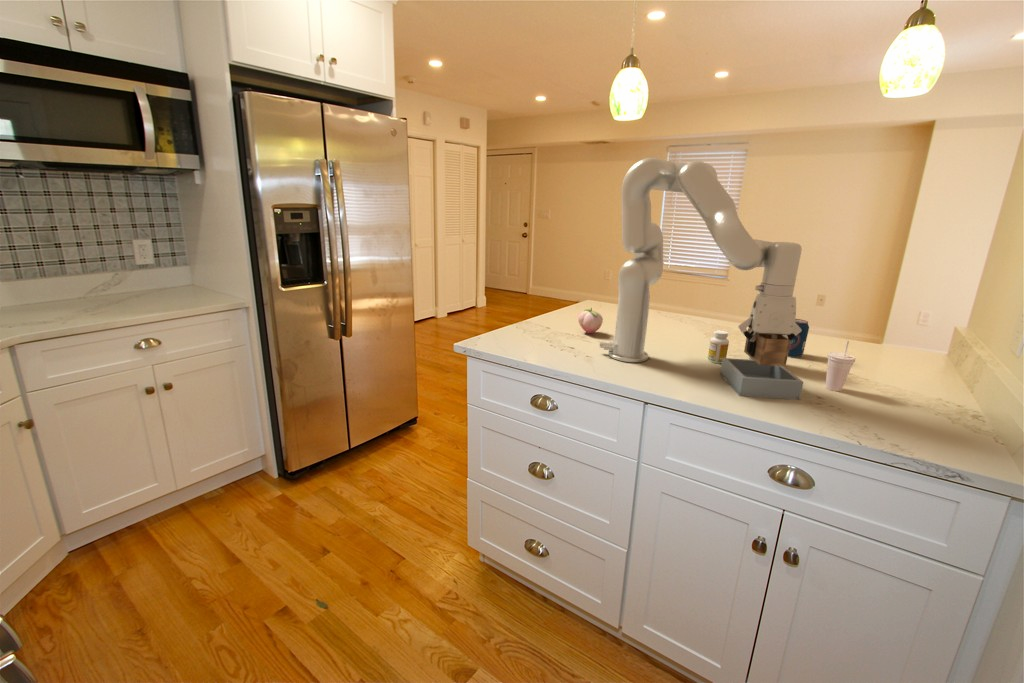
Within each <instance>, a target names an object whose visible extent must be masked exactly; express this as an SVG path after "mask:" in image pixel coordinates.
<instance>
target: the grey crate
mask: <svg viewBox="0 0 1024 683" xmlns="http://www.w3.org/2000/svg"><path fill="white" fill-rule="evenodd" d="M720 366H721V367H720V376H721V377H722V378H723V380H725V381H726V382H727V383H728V385H729V386H730V387H731V388H732V389H733V390H734V391H735V392H736V393H737V395H738V396H739V397H740V396H741V397H743V396H744V397H754V398H755V397H756V398H770V399H786V400H798V401H799V400H800V399H801V395H802V390H803V386H804V381H803V380H802V379H800V378H799V377H798V376H797V375H795V374H794V373H793V372H791V371H790V370H789V369H788V368H786V366H771V365H759V364H758V363H757V362H755V361H754V360H749V359H747V358H746V359H745V358H730V357H726V358H723V360H722V363H721V365H720Z"/></svg>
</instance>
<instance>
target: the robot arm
mask: <svg viewBox="0 0 1024 683" xmlns="http://www.w3.org/2000/svg"><path fill="white" fill-rule="evenodd" d="M652 190H653V191H663V192H673V193H681V194H684V195H685V197H686V198H687V199H688V200H689V202H690V204H691V205H692V206H693V208H694V209H695V211H696V212H697V213H698V214H699V216H700V217H701V219H702V220H703V221H704V223H705V226H706V228H707V229H708V232H710V233H709V234H710V235H711V237H712V239H713V240H714V242H715V244H716V246H717V247H718V248H719V249H720V251H721V252H722V254H723V255H724V256H725V258H726V259H727V261H728V262H729V263H730V265H732V266H733V267H734V268H736V269H737V270H741V271H749V270H754V269H756V268H763V273H762V274H763V275H762V280H761V282H760V284H759V285H755V286H754V287H755V291H758V292H759V293H758V294H757V293H756V294H757V295H756V296H755V299H754V301H753V304H752V307H751V311H750V314H749V317H748V318H747V319H746V320H744V321H743V322H741V323H740V324H739V325H738V327H737V328H738V329H739V330H740V331H741V333H742V334H743V336H744V337H745V339H746V338H747V339H748V344H747V352H748V354H749V355H750V356H754V354H755V349H756V342H755V340H756V339H757V337H758V335H759V334H776V335H781V336H784V337H786V338H787V339H789V340H791V339H793V338H794V337H795V336H796V335H797V334H799V333H800V332H801V331H802V330H801V328H800V327H799V326H798V325H797V324H796V323H795V319H796V316H797V298H796V297H795V296H794V290H795V286H796V280H797V274H798V270H799V265H800V259H801V255H802V251H803V250H802V246H801V244H800V243H796V242H790V241H789V242H788V241H775V242H773V241H768V240H767V241H766V240H762V239H755V238H754V239H753V237H752V236H751V234H750V233H749V232H748V231H747V229H746V228H745V227H744V225H743V223H742V221H741V220H740V217H739V216H738V213H737V206H736V202H735V201H734V199H733V198H732V197H731V195H730V194H729V193H728V192H727V190H726V189H725V188H724V187H723V184H722V183H721V182H720V181H719V179H718V173H717V170H716V168H715V167H714V166H713V165H711V164H710V163H707V162H703V161H700V160H694V161H691V162H690V161H689V162H681V161H673V160H671V161H670V160H665V159H663V158H662V159H661V158H659V157H646V158H643V159H641V160H638V161H637V162H635V163H633V165H632V166H631V167H630V168H629V169H628V170H627V172H626V174H625V175H624V178H623V180H622V185H621V243H622V247H623V249H624V250H625V251H626V252H628V253H630V254H633V258H630V259H628V260H627V261H625V262H624V263H623V264H622V265H621V267H620V269H619V272H618V277H617V280H618V281H617V282H618V283H617V284H618V299H617V300H618V301H617V312H616V322H615V331H614V332H615V333H614V339H612V341H608V342H605V341H599V348H600V349H603V350H605V351H608V356H609V357H610V358H612V359H614V360H617V361H621V362H625V363H643V362H645V361H647V360H648V359H649V354H648V353H647V351H645V345H646V335H647V329H648V318H649V314H650V313H649V312H650V303H651V302H650V299H651V298H650V287H651V286H653V285H655V284H656V283H657V282H659V280H660V279H661V277H662V275H663V270H664V236H663V231H662V229H661V228H660V226H659V225H658V224H657V223H655V222H654V221H652V204H651V202H652V201H651V197H650V193H651V191H652ZM748 328H750V329H752V330H751V331H750V333H749V332H748Z"/></svg>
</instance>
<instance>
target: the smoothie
mask: <svg viewBox="0 0 1024 683" xmlns="http://www.w3.org/2000/svg"><path fill="white" fill-rule="evenodd" d="M849 343H850V340H846V343H845V347H844V351H843V352H835V351H830V352H828V353H827V354H826V358H827V365H826V366H827V367H826V378H825V386H824V387H825V388H826V389H827V390H830V391H832V392H833V391H834V392H841V391H842V390H843V388H844V385H845V382H846V380H847V378H848V376H849V373H850V371H851V369H852V367H853V364H854V363H855V362H856V359H857V358H856V357H855V356H853V355H851V354H847V351H848V348H849V345H850V344H849Z"/></svg>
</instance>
